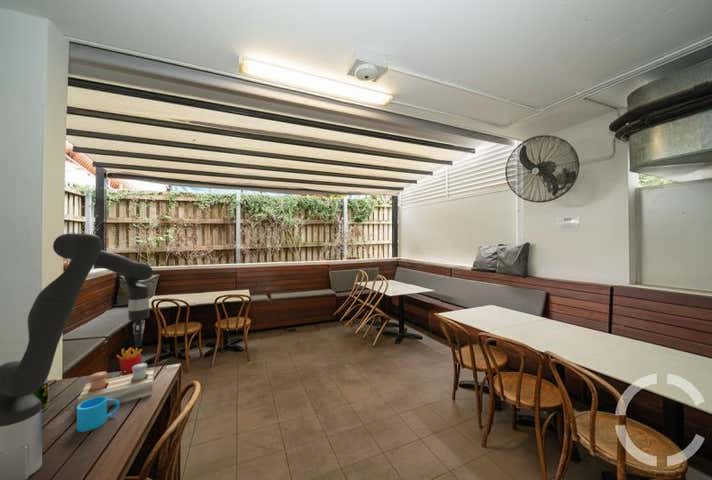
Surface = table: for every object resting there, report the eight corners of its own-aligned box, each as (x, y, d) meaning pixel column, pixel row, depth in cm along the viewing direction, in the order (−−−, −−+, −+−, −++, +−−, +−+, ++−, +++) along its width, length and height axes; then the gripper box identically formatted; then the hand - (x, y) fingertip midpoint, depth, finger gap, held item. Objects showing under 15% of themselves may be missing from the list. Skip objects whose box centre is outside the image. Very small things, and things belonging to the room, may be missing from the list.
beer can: (26, 415, 108) (25, 385, 108) (32, 408, 113) (31, 379, 113) (45, 410, 111) (45, 381, 111) (50, 404, 116) (50, 376, 116)
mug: (78, 435, 97) (78, 412, 97) (75, 425, 103) (75, 403, 103) (121, 418, 107) (121, 397, 107) (117, 409, 112) (117, 390, 112)
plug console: (152, 394, 123) (152, 381, 123) (78, 413, 109) (77, 399, 109) (153, 381, 134) (153, 369, 134) (86, 397, 121) (86, 383, 121)
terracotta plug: (105, 391, 117) (105, 375, 117) (88, 395, 114) (88, 378, 114) (108, 386, 121) (107, 370, 121) (91, 389, 118) (91, 373, 118)
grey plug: (146, 381, 125) (146, 366, 125) (131, 385, 122) (131, 369, 122) (147, 377, 129) (147, 362, 129) (132, 380, 126) (132, 365, 126)
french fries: (129, 372, 143) (129, 344, 143) (145, 372, 143) (145, 344, 143) (114, 381, 134) (114, 351, 134) (131, 381, 134) (131, 351, 134)
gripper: (148, 310, 122) (148, 347, 122) (149, 303, 134) (150, 337, 134) (126, 312, 118) (126, 351, 118) (130, 306, 129) (130, 341, 129)
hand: (139, 343), depth 126 cm, fingers open, 6 cm apart
